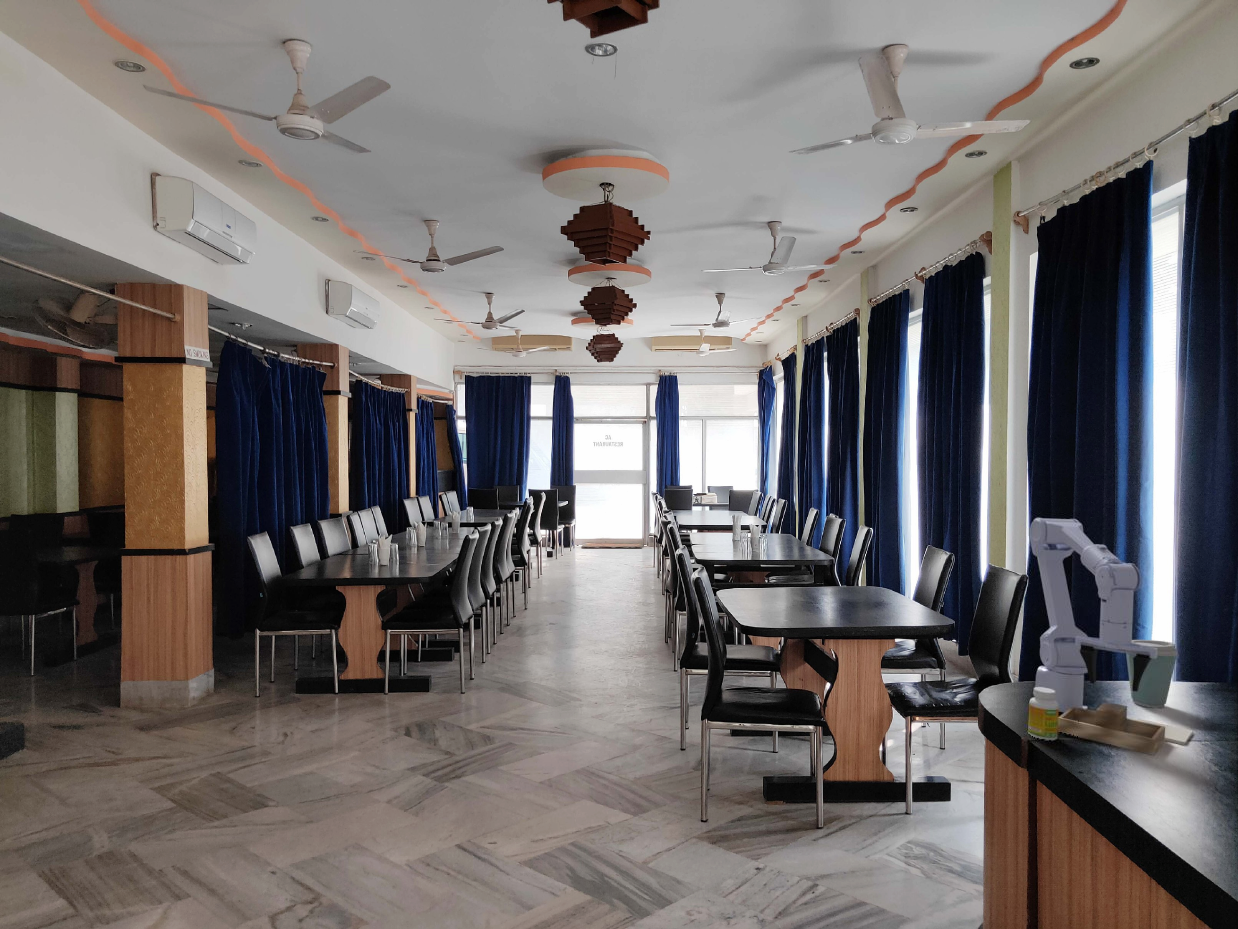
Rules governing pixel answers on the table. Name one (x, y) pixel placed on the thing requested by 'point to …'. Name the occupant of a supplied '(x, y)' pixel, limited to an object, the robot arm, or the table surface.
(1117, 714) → the block
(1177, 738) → the pad
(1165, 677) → the disposable coffee cup
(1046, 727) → the supplement bottle
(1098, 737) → the frame
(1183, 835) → the table surface
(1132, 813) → the table surface
